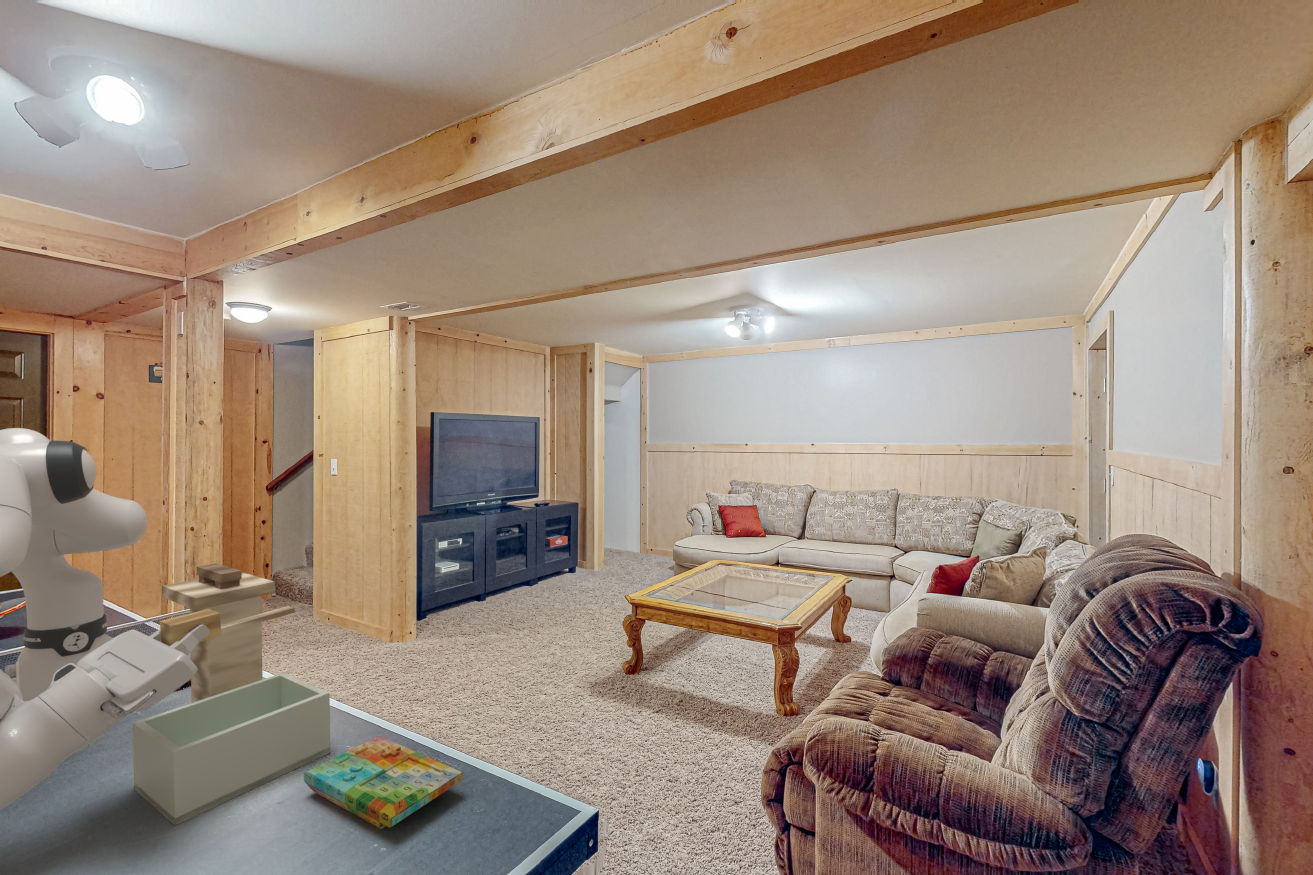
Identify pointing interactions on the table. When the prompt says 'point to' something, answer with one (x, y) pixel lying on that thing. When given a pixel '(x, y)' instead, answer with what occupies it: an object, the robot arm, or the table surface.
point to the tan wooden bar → (211, 623)
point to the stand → (234, 598)
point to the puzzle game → (381, 781)
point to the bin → (228, 744)
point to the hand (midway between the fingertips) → (197, 623)
